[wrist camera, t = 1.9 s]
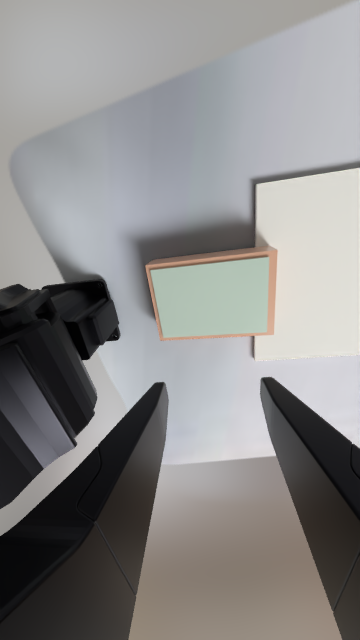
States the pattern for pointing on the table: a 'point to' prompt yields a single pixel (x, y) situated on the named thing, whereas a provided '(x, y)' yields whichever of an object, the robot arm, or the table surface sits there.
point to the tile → (215, 294)
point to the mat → (312, 264)
